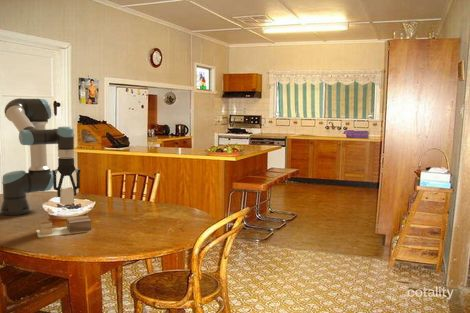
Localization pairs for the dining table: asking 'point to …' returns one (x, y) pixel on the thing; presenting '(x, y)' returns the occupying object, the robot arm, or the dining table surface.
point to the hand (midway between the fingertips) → (67, 202)
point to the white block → (67, 195)
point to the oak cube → (46, 227)
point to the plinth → (78, 224)
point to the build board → (57, 232)
